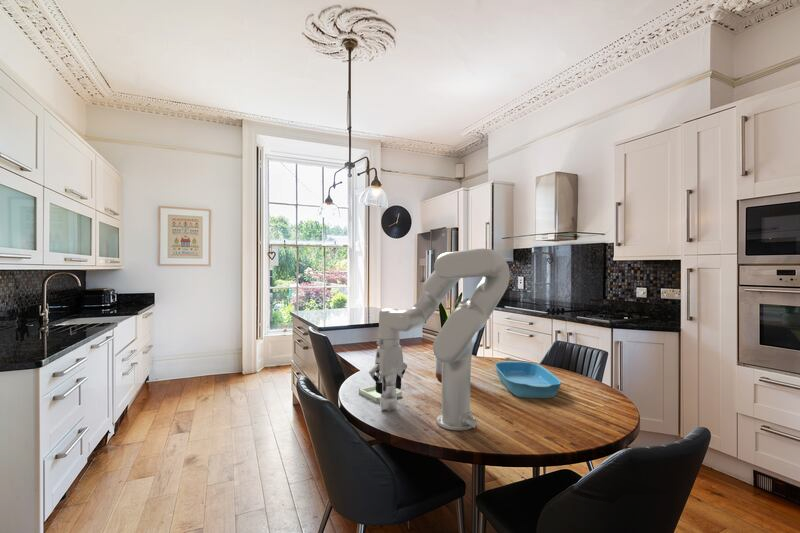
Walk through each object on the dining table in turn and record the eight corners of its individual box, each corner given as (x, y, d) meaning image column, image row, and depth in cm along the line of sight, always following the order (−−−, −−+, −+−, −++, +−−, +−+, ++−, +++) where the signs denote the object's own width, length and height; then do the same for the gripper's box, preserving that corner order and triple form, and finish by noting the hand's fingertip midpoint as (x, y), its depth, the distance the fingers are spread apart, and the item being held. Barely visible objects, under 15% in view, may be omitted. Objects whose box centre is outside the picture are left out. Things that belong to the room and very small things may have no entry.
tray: (401, 396, 152) (401, 391, 152) (376, 403, 144) (377, 398, 144) (382, 388, 162) (382, 383, 162) (358, 393, 155) (358, 389, 155)
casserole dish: (569, 403, 147) (570, 384, 147) (512, 402, 147) (512, 384, 147) (536, 375, 184) (536, 360, 184) (490, 374, 184) (490, 360, 184)
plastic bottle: (382, 413, 134) (382, 357, 134) (378, 406, 141) (378, 353, 141) (399, 412, 136) (400, 356, 136) (394, 405, 142) (395, 352, 142)
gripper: (375, 347, 130) (374, 398, 130) (414, 341, 141) (413, 388, 141) (363, 343, 136) (362, 392, 136) (401, 338, 147) (401, 383, 147)
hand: (388, 390), depth 138 cm, fingers open, 7 cm apart
